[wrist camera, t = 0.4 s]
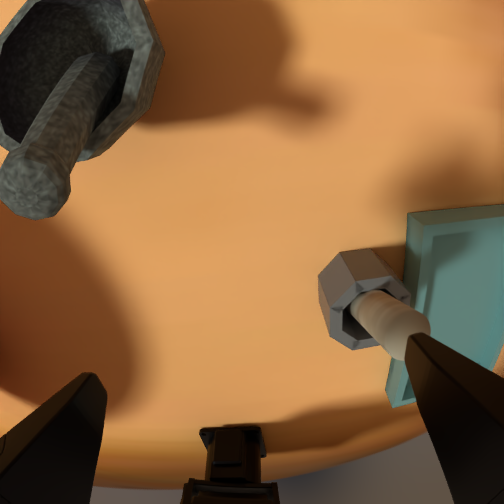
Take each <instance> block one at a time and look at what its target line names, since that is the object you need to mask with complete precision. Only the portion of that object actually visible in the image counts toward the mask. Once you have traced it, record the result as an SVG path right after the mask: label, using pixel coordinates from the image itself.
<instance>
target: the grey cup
mask: <svg viewBox="0 0 504 504" xmlns="http://www.w3.org/2000/svg"><path fill="white" fill-rule="evenodd" d="M377 289H379V290H381V291H383V292H385V293H386V294H388V295H390V296H392V297H394V298H395V299H397V300H399V301H401V302H403V303H404V304H406V305H408V306H409V305H410V298H411V293H410V292H409V291H408V289H407V288H406V287H405V286H404V284H403V283H402V282H401V280H400V279H399V278H398V276H397V275H396V274H395V273H394V271H393V270H392V269H391V268H390V266H389V265H388V264H387V263H386V262H384V261H383V260H382V259H381V258H380V257H379V256H378V255H377V254H376V253H374V252H373V251H372V250H371V249H370V248H369V249H361V250H354V251H346V252H340V253H338V254H337V256H336V257H335V258H334V259H333V260H332V261H331V262H330V263H329V264H328V265H327V266H326V267H325V269H324V270H323V271H322V272H321V273H320V274H319V275H318V291H319V304H320V307H321V310H322V313H323V316H324V319H325V323H326V326H327V329H328V332H329V335H330V337H332V338H333V339H335V340H336V341H338V342H340V343H341V344H343V345H344V346H346V347H348V348H349V349H351V350H357V349H363V348H368V347H373V346H378V345H380V344H379V343H378V342H377V341H376V340H375V339H374V338H373V337H372V336H371V335H370V334H369V332H368V331H367V330H366V329H365V328H364V327H363V326H362V325H361V324H360V323H359V322H358V321H357V320H356V319H355V318H354V317H353V316H352V315H351V314H350V313H349V312H348V311H347V310H346V309H345V307H346V306H347V305H348V304H349V303H350V302H351V301H352V300H353V299H354V298H355V297H356V296H357V295H358V294H359V293H360V292H364V291H371V290H377Z"/></svg>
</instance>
